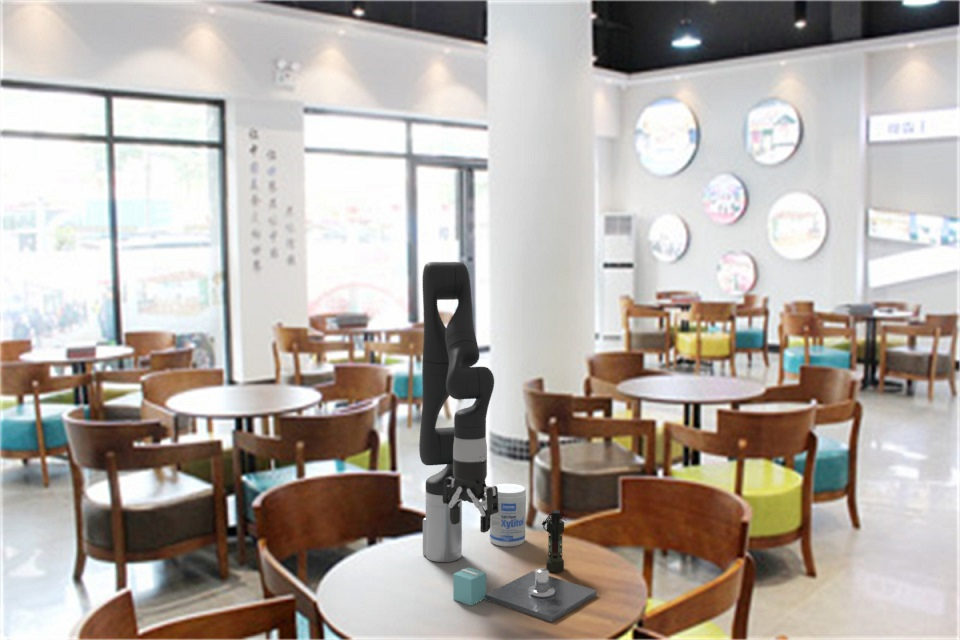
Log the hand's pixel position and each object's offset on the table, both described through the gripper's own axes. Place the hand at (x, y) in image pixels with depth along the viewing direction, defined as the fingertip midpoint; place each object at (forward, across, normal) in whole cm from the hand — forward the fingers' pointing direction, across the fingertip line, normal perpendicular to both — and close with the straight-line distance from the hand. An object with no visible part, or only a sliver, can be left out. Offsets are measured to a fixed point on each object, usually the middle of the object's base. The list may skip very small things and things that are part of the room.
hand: (470, 527), depth 194 cm
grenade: (+17, +5, +26) cm, 31 cm away
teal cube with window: (+17, 0, 0) cm, 17 cm away
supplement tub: (+17, -16, +35) cm, 42 cm away
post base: (+17, +12, +11) cm, 23 cm away
